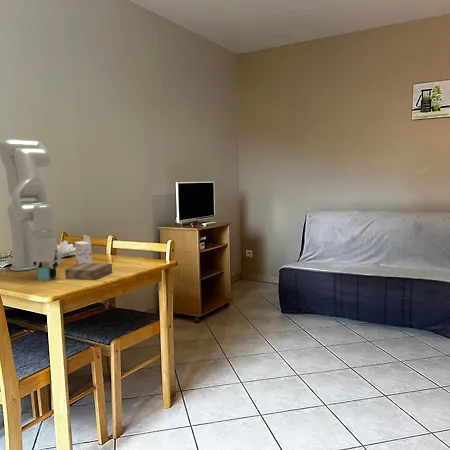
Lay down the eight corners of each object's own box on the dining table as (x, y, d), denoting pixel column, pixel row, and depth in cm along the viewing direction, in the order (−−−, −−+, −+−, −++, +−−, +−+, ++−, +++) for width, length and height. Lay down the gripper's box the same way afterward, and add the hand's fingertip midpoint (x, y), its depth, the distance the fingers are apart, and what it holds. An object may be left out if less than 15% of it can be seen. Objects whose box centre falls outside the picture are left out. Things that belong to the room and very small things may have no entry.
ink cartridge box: (75, 266, 198) (73, 235, 197) (85, 264, 202) (83, 234, 200) (82, 268, 192) (80, 237, 190) (92, 267, 195) (91, 236, 194)
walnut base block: (65, 278, 172) (65, 269, 172) (84, 271, 186) (83, 262, 185) (96, 280, 169) (95, 270, 169) (112, 272, 183) (111, 263, 182)
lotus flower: (43, 258, 220) (41, 242, 219) (62, 253, 234) (61, 238, 233) (64, 259, 215) (63, 243, 214) (83, 254, 229) (82, 239, 228)
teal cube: (38, 280, 171) (37, 268, 171) (45, 277, 176) (45, 265, 175) (48, 280, 170) (47, 268, 170) (56, 277, 175) (55, 266, 174)
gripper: (20, 235, 169) (23, 278, 171) (56, 236, 165) (59, 280, 168) (32, 233, 176) (35, 274, 179) (67, 233, 173) (70, 275, 175)
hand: (47, 276), depth 173 cm, fingers closed on teal cube, 5 cm apart
